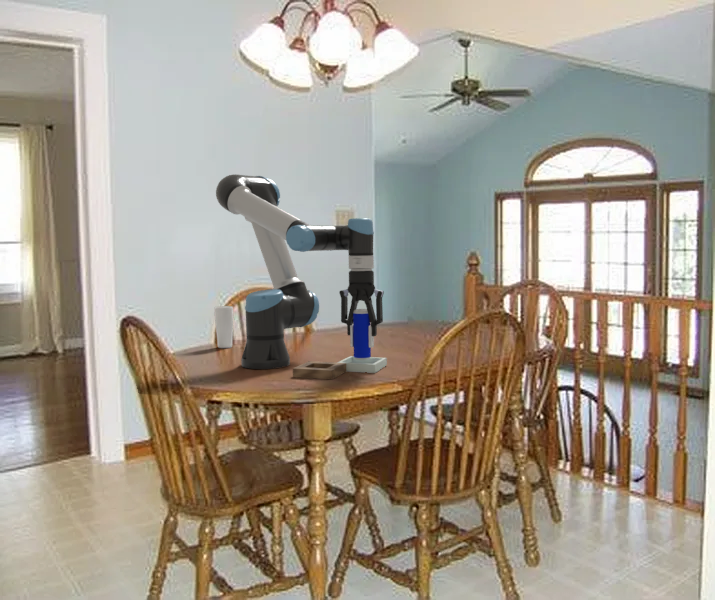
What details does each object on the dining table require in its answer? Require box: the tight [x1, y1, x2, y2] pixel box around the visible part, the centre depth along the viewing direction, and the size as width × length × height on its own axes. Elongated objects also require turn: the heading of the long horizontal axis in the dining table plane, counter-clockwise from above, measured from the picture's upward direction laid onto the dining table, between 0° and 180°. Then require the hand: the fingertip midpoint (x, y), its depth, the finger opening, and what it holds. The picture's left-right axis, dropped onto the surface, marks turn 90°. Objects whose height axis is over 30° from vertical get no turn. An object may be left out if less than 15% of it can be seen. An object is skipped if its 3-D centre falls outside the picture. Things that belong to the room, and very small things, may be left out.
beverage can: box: [353, 308, 372, 360], centre depth 211 cm, size 5×5×15 cm
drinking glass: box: [214, 305, 234, 349], centre depth 256 cm, size 7×7×15 cm
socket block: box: [292, 360, 347, 380], centre depth 203 cm, size 12×12×2 cm
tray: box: [336, 355, 388, 374], centre depth 212 cm, size 12×12×2 cm
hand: (362, 346), depth 211 cm, fingers closed on beverage can, 5 cm apart
